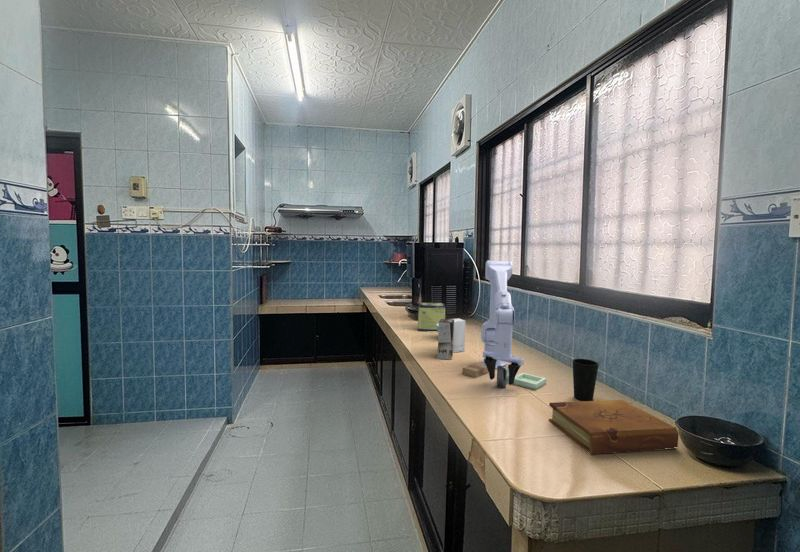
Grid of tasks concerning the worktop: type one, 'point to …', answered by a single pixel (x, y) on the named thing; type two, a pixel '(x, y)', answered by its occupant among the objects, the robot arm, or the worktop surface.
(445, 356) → the coffee box
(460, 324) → the skincare box
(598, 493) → the worktop surface
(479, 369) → the brown rectangular block
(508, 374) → the block
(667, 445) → the diary
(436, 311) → the protein box
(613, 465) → the worktop surface
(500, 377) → the steel pin
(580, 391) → the cup
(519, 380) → the green tray
